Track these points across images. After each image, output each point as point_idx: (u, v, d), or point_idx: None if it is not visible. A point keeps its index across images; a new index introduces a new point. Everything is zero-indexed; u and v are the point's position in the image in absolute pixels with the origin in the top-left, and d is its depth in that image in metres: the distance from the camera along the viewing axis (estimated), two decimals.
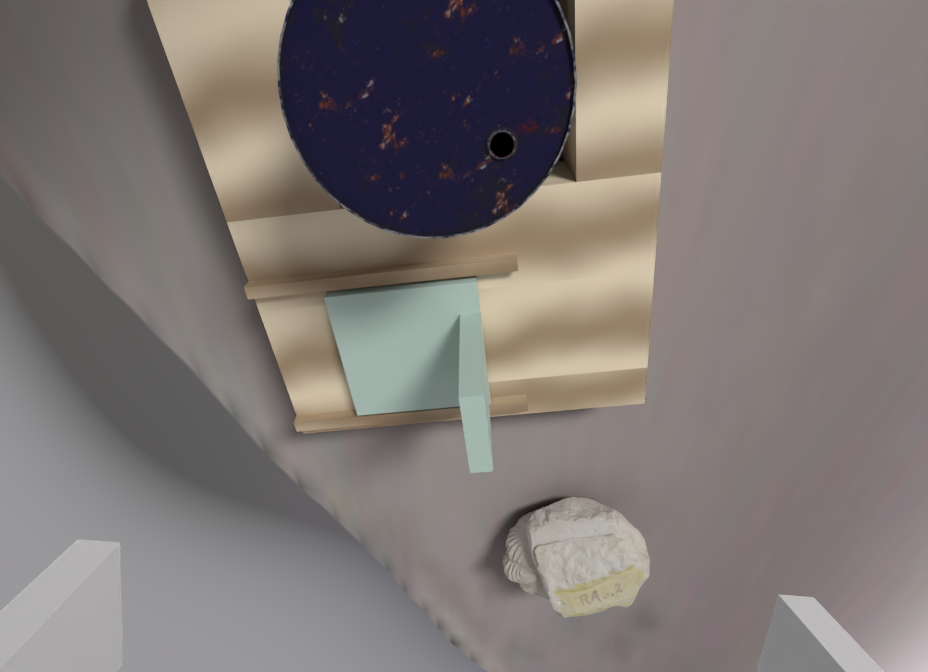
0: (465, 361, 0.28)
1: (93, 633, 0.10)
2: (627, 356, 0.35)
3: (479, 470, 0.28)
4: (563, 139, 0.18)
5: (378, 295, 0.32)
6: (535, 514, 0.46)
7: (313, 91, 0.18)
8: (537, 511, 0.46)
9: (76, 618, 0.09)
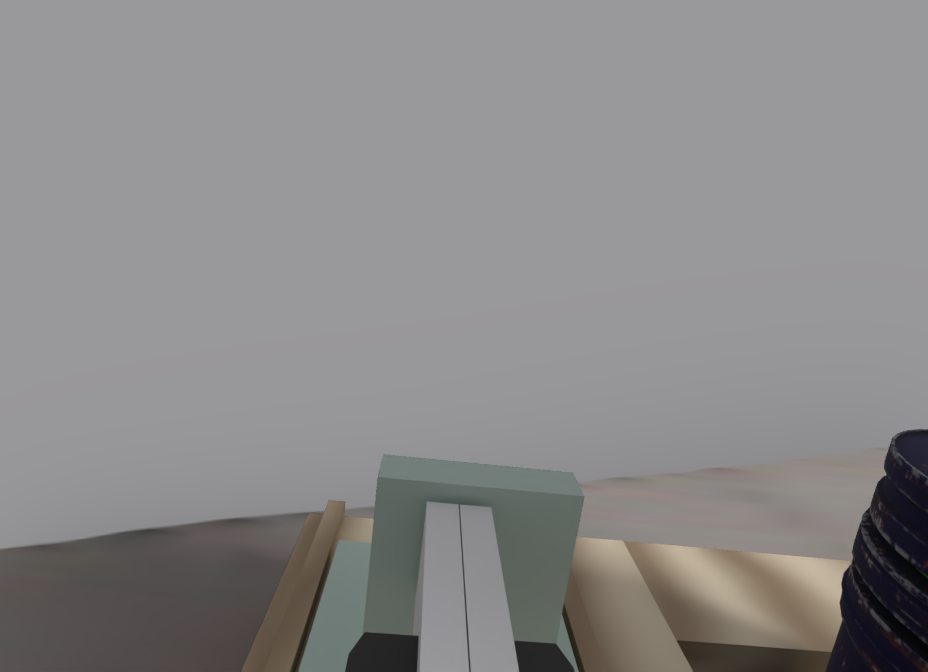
0: None
1: None
2: None
3: (386, 463, 0.14)
4: None
5: None
6: None
7: None
8: None
9: None
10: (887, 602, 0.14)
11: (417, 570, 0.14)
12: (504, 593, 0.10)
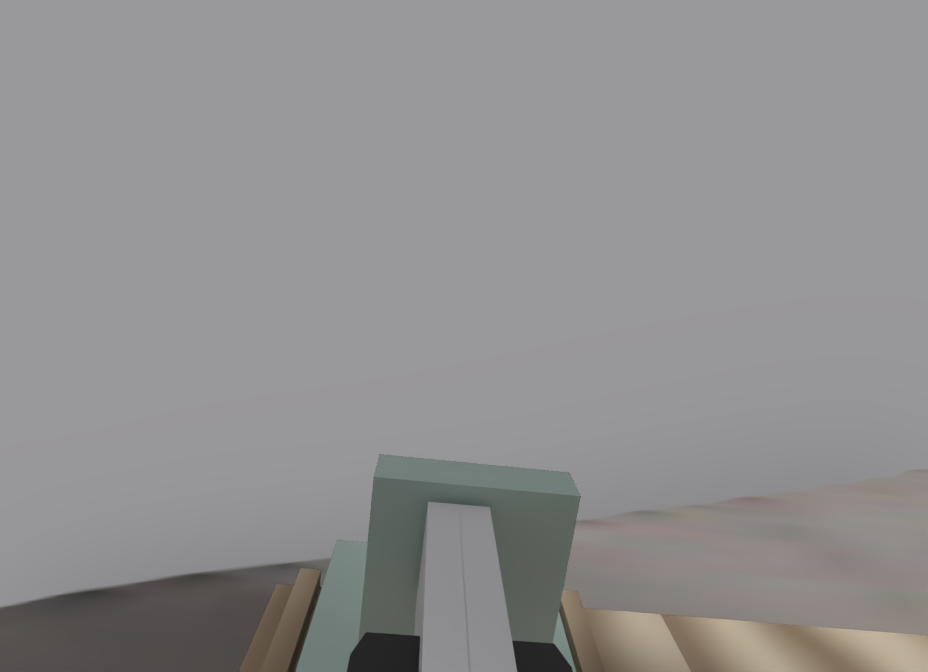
0: None
1: None
2: None
3: (382, 463, 0.14)
4: None
5: None
6: None
7: None
8: None
9: None
10: None
11: (413, 570, 0.14)
12: (502, 593, 0.10)
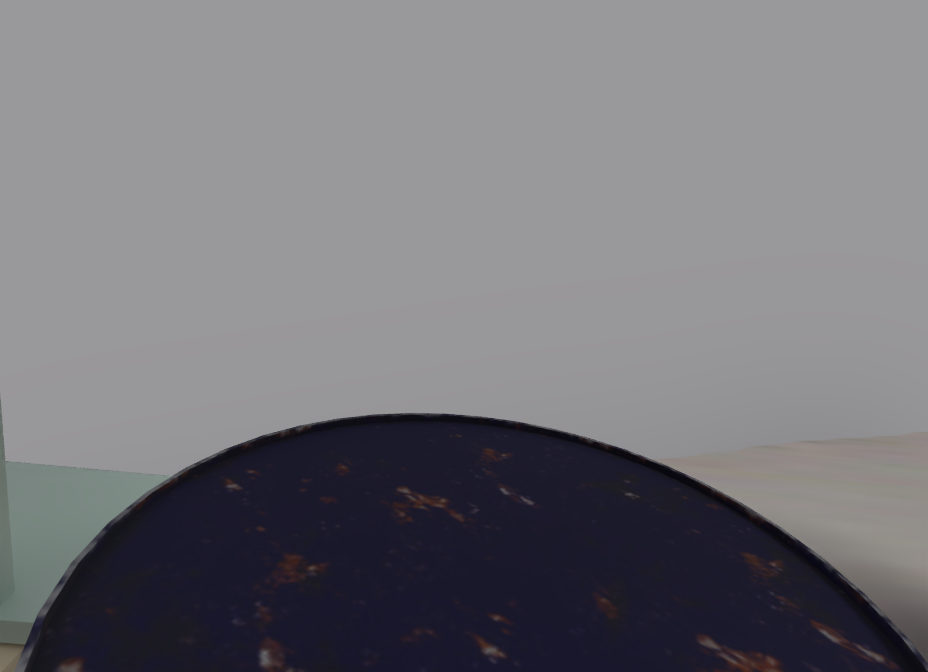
0: None
1: None
2: None
3: None
4: None
5: None
6: None
7: (510, 448, 0.10)
8: None
9: None
10: None
11: None
12: None
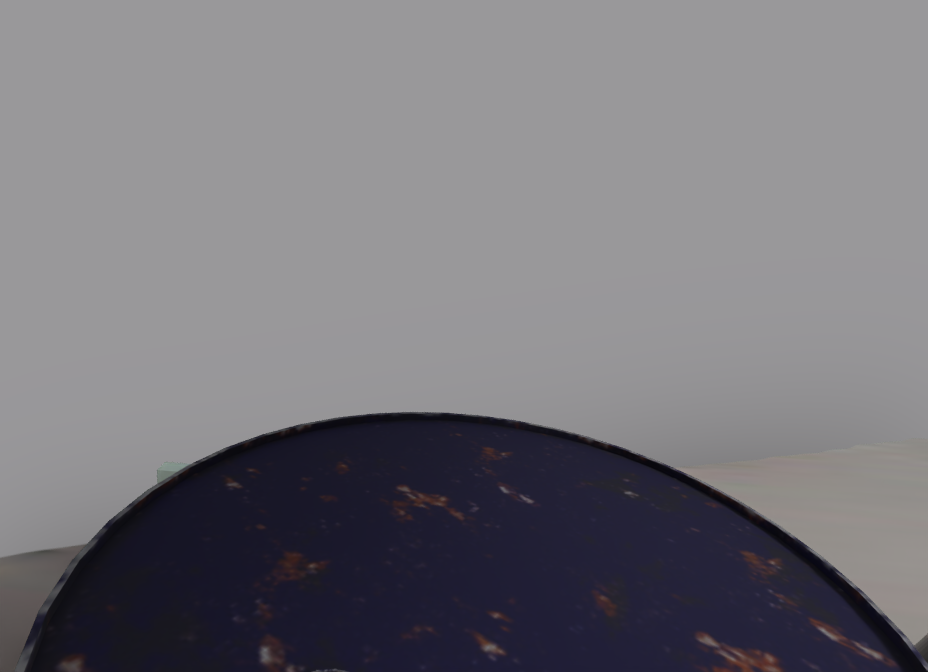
0: None
1: None
2: None
3: (164, 465, 0.38)
4: None
5: None
6: None
7: (510, 447, 0.11)
8: None
9: None
10: None
11: None
12: None
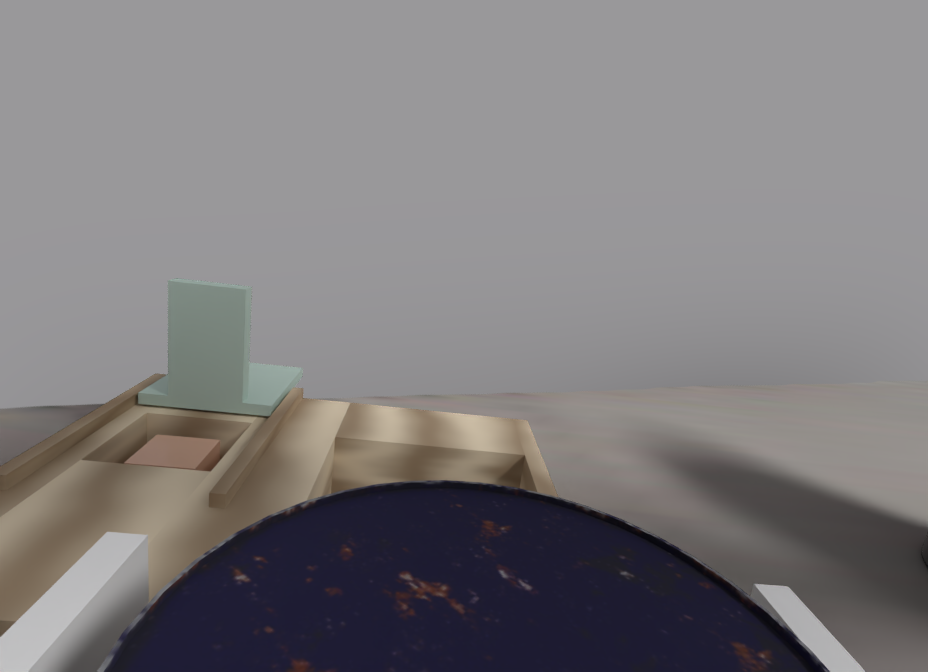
0: (248, 329, 0.38)
1: (124, 622, 0.10)
2: None
3: (175, 279, 0.36)
4: None
5: (290, 379, 0.44)
6: None
7: (509, 519, 0.11)
8: None
9: (109, 607, 0.09)
10: None
11: (186, 318, 0.36)
12: None
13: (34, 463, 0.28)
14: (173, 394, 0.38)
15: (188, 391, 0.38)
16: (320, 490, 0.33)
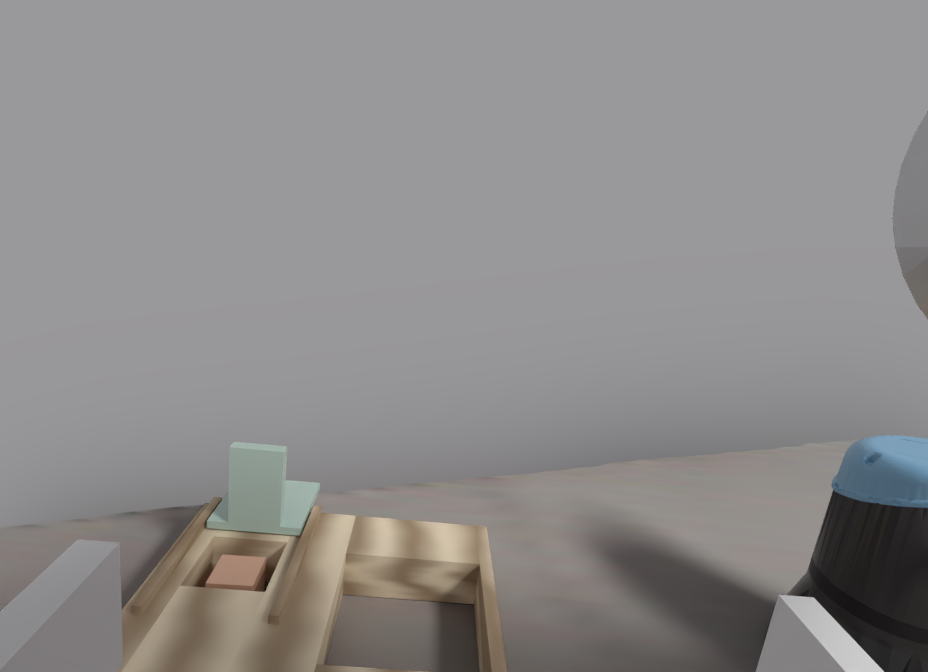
0: (284, 475, 0.53)
1: (93, 633, 0.10)
2: None
3: (233, 444, 0.52)
4: None
5: (311, 497, 0.59)
6: None
7: None
8: None
9: (76, 618, 0.09)
10: None
11: (241, 471, 0.52)
12: None
13: (154, 592, 0.44)
14: (231, 521, 0.53)
15: (242, 519, 0.53)
16: (336, 598, 0.49)
